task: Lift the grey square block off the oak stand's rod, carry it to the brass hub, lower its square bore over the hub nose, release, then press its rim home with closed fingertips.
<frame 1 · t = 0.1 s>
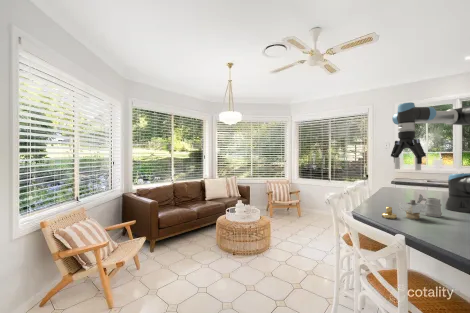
hand: (407, 169, 127), 28 cm above the counter, fingers open, 13 cm apart
stand: (412, 217, 130), on the counter
mug: (428, 215, 136), on the counter
grey square block: (412, 210, 130), point 4 cm above the counter, touching stand
hub: (389, 217, 132), on the counter
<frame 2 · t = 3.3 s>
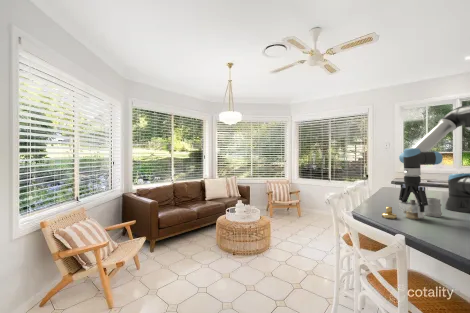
hand: (412, 215, 130), 1 cm above the counter, fingers closed on grey square block, 9 cm apart
grey square block: (412, 210, 130), point 4 cm above the counter, touching gripper
everything else where it was.
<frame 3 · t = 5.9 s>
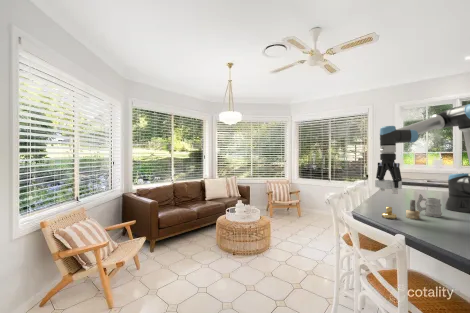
hand: (388, 192, 132), 14 cm above the counter, fingers closed on grey square block, 9 cm apart
grey square block: (388, 187, 132), point 17 cm above the counter, touching gripper
everything else where it was.
when the fingers open (1 cm above the counter, at t = 8.8 s): grey square block drops 2 cm, resting on hub.
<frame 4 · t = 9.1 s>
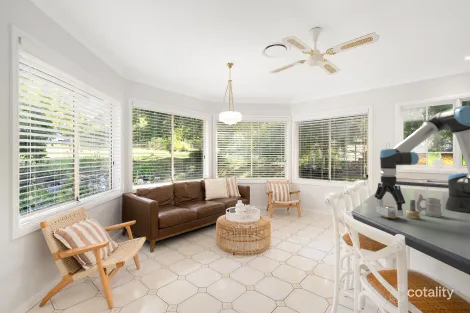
hand: (389, 213, 132), 3 cm above the counter, fingers open, 13 cm apart
grey square block: (389, 214, 132), point 2 cm above the counter, touching hub
everything else where it was.
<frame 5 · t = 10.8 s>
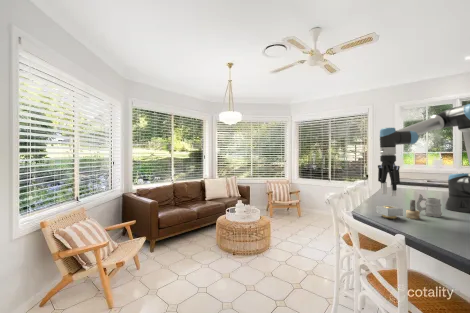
hand: (388, 195, 132), 13 cm above the counter, fingers open, 6 cm apart
nothing on the counter moved.
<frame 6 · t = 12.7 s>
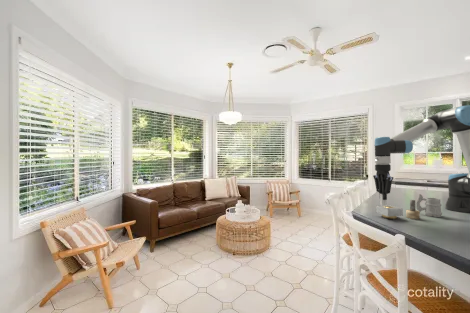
hand: (383, 205, 132), 7 cm above the counter, fingers closed
nothing on the counter moved.
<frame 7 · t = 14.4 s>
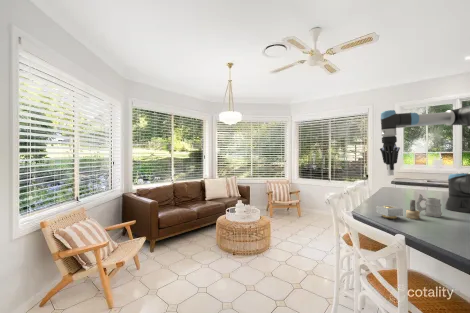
hand: (390, 175, 139), 24 cm above the counter, fingers closed
nothing on the counter moved.
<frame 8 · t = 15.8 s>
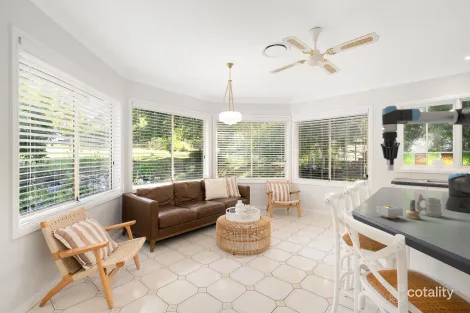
hand: (390, 170, 141), 26 cm above the counter, fingers closed
nothing on the counter moved.
at the end: grey square block 0.0 cm off-centre on the hub, point 2.0 cm above the hub's base; grey square block tilted 0°; the gripper is holding nothing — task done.
